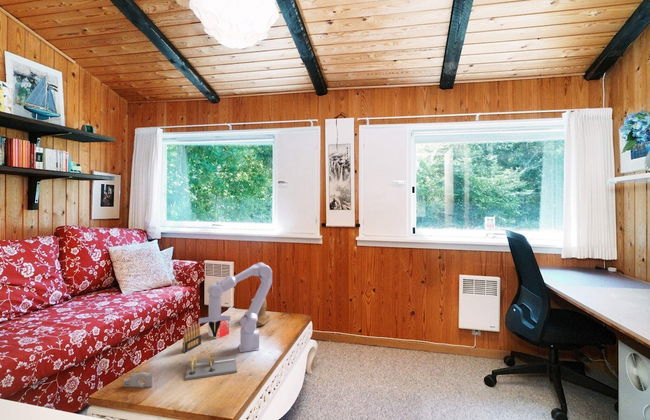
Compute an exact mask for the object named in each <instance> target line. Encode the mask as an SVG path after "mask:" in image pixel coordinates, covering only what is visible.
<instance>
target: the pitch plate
mask: <svg viewBox="0 0 650 420" xmlns="http://www.w3.org/2000/svg"><path fill="white" fill-rule="evenodd" d="M235 373H238V368H237V359H236V355H234V354H233V355H228V356H218V357H214V364H212V369H211V370H210V364H208V358H204V359H199V360H197V355H195V356H194V355H193V356H190V359H189V361H188V362H187V368H186V372H185V381H189V380H195V379H200V378H201V379H202V378H210V377H215V375H216V376H223V375H227V374H235ZM209 376H210V377H209Z"/></svg>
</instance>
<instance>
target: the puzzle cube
mask: <svg viewBox="0 0 650 420" xmlns="http://www.w3.org/2000/svg"><path fill="white" fill-rule="evenodd" d="M207 326H208V327H207V331H208V332H207V333H208V334H207V335H208V336H209V337H212V338H214V339H216V340H218V339H221V338H222V337H225V336H229V334H230V321H228V320H227V321H221V324H220V326H219V328H218V331H217V335H216V337H213V333H212V330H211V328H210V326H209V322H207ZM214 330H215V322H214Z"/></svg>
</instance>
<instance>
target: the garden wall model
mask: <svg viewBox="0 0 650 420" xmlns="http://www.w3.org/2000/svg"><path fill="white" fill-rule="evenodd" d="M155 374H156V372H155V373H149V372H146V371H141V372H138V373H135V372H134V373H130V375H129V376H130V378H128V377H127V378H126V377H125V378H123V381H122V382H123V387H124V388H125V387H127V388H129V387H132V388H134V387H135V388H136V387H137V388H146V387H147V388H153V387H154V385H155V377H154V376H155Z"/></svg>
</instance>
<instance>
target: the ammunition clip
mask: <svg viewBox="0 0 650 420" xmlns="http://www.w3.org/2000/svg"><path fill="white" fill-rule="evenodd" d="M182 339H183V342H182V350H181V351H182V353H184V354H185V353H188V352H190V351H191V350H193V349H196V348H197V347H199V346H201V345H202V335H201V325H200V324H199V321H198V322H197V323H195V324H192V325H190V326H187V327H186V328H184V329H183V338H182Z"/></svg>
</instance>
